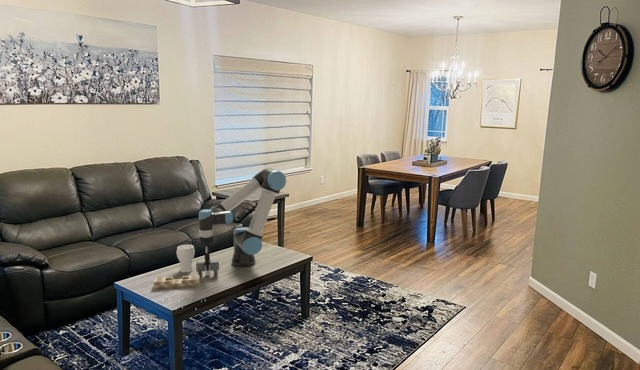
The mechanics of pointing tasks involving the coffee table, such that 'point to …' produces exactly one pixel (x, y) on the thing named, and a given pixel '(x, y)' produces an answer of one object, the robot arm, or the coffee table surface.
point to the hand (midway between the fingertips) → (208, 274)
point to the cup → (185, 257)
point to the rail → (176, 282)
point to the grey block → (213, 267)
